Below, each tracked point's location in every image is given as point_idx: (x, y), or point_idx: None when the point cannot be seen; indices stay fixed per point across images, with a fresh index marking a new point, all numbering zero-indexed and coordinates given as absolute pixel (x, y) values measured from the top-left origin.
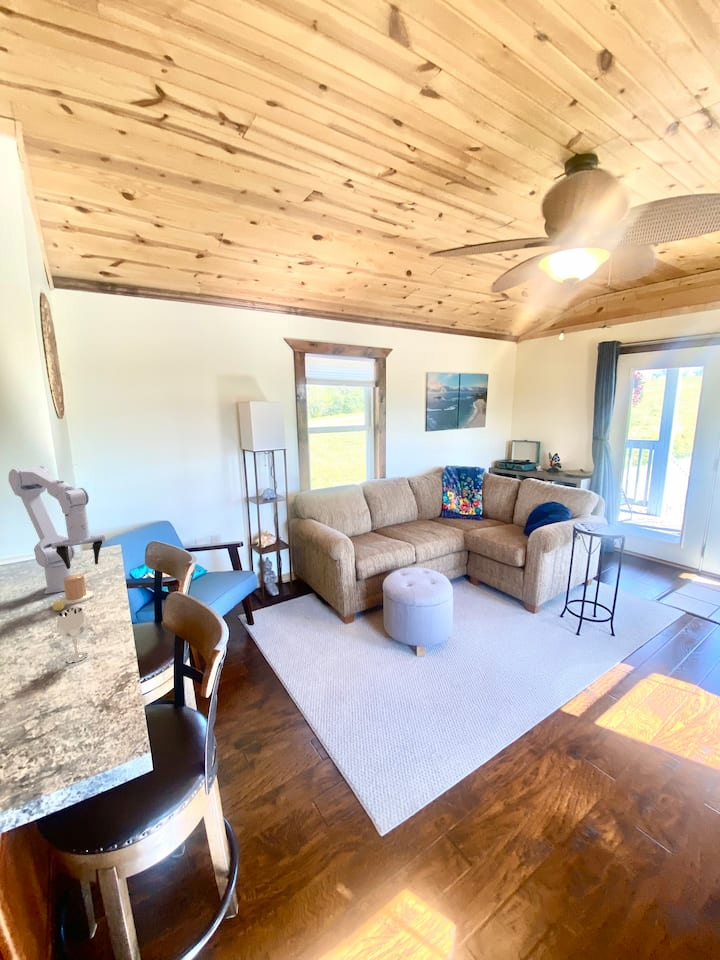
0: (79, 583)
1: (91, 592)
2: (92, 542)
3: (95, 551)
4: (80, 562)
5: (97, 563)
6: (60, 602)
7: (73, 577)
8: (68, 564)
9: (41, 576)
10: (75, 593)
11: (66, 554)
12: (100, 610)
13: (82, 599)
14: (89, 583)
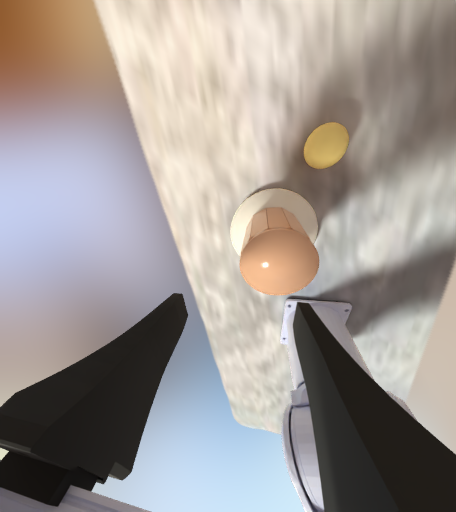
0: (255, 229)
1: (234, 242)
2: (77, 497)
3: (110, 357)
4: (278, 404)
5: (171, 295)
6: (321, 135)
7: (278, 265)
8: (305, 320)
9: None
10: (271, 212)
11: (339, 414)
12: (179, 60)
13: (252, 196)
14: (252, 313)
